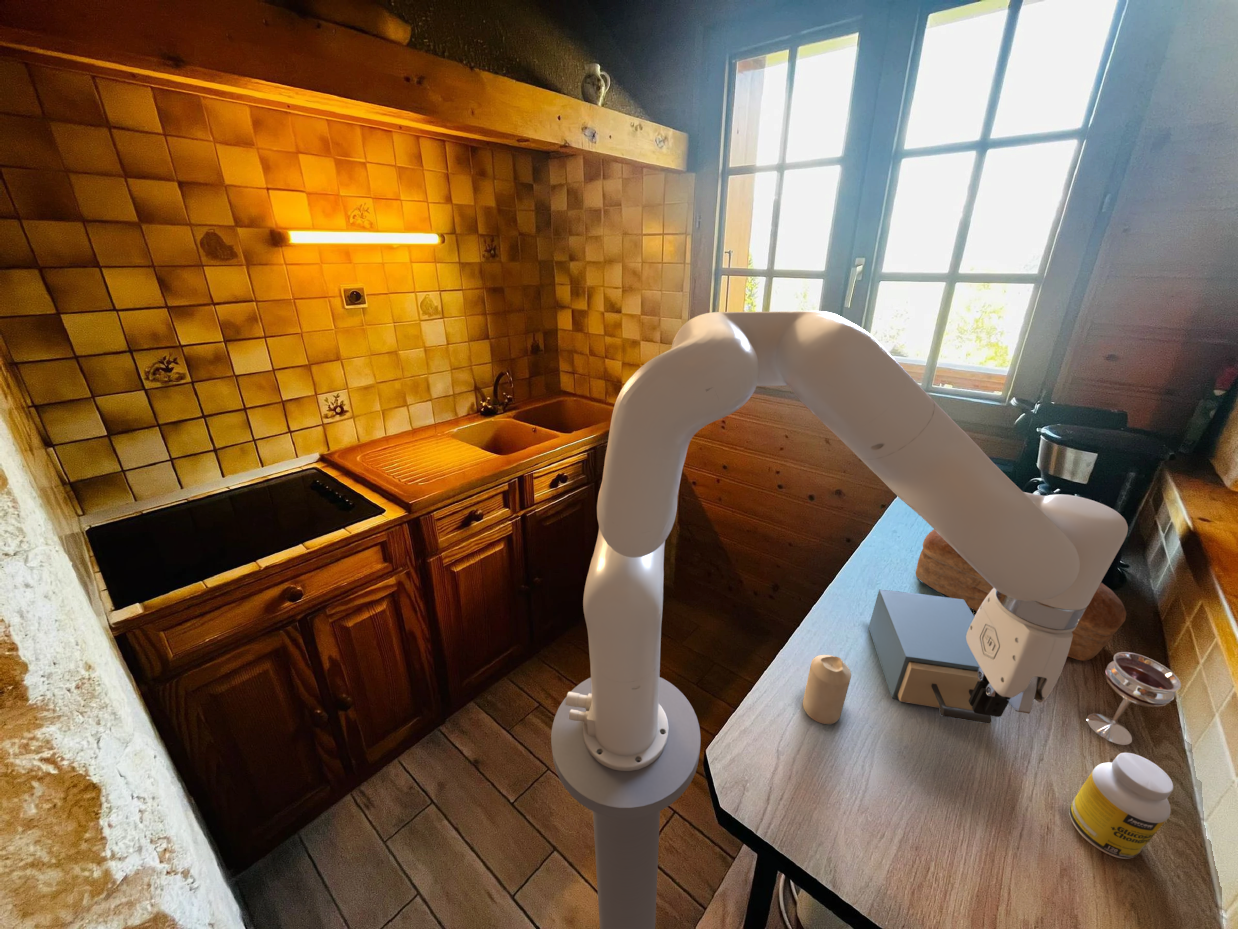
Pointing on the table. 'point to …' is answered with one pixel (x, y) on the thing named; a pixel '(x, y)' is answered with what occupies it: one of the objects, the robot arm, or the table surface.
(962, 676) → the drawer
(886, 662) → the cabinet
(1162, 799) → the pill bottle
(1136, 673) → the wineglass
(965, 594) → the bread
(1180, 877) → the table surface
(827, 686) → the candle
